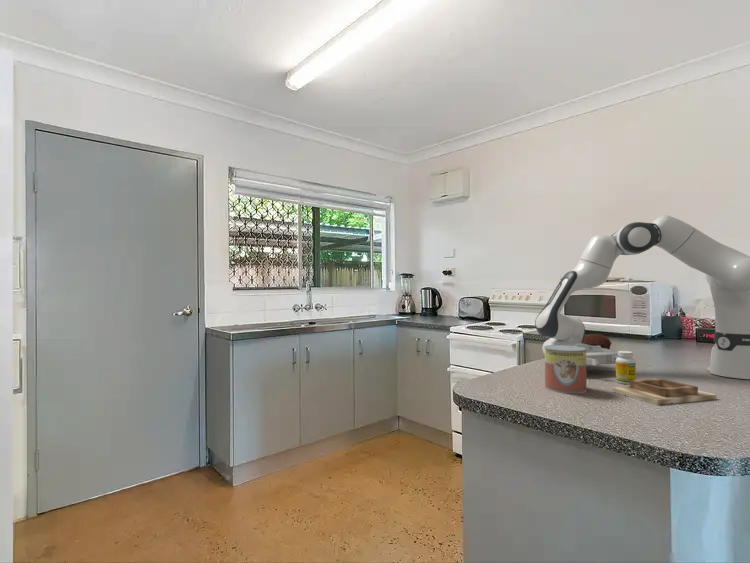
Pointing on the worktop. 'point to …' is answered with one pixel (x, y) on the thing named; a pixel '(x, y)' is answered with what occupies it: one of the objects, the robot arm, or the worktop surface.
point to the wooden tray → (663, 391)
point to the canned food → (565, 368)
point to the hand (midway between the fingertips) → (609, 361)
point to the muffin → (597, 340)
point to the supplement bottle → (625, 367)
